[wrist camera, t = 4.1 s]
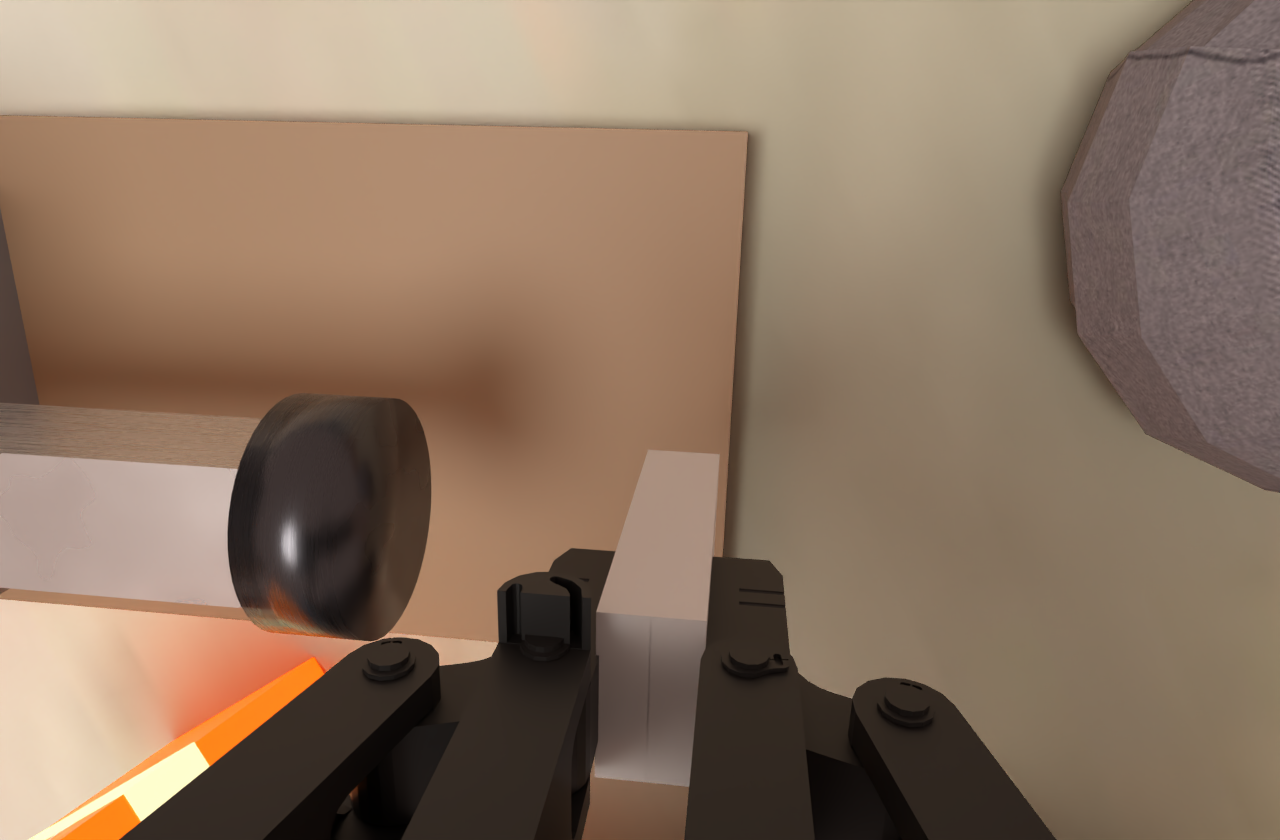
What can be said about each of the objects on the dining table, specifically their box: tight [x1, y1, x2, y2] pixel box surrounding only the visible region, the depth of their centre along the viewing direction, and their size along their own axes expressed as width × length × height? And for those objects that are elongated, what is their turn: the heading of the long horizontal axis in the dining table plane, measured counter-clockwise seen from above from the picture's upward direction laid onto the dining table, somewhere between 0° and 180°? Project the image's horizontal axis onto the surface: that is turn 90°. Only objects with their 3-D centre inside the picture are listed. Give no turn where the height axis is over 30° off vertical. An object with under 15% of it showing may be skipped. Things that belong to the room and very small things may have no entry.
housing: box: [0, 115, 748, 642], centre depth 20 cm, size 34×16×16 cm, turn 89°
